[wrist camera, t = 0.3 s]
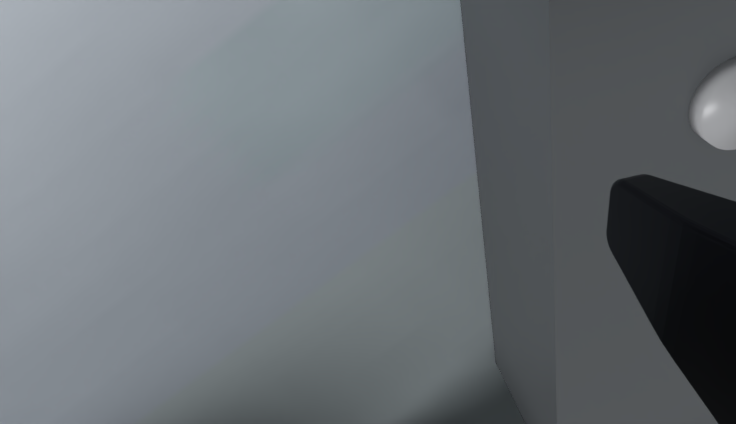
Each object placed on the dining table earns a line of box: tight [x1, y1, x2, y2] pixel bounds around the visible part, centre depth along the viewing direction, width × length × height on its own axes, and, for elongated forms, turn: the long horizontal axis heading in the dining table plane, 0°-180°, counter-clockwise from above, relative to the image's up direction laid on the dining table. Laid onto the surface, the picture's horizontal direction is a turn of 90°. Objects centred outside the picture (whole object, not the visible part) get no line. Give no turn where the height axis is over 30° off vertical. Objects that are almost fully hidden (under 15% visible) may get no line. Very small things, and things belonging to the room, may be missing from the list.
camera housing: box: [460, 0, 736, 424], centre depth 22 cm, size 22×10×8 cm, turn 11°
